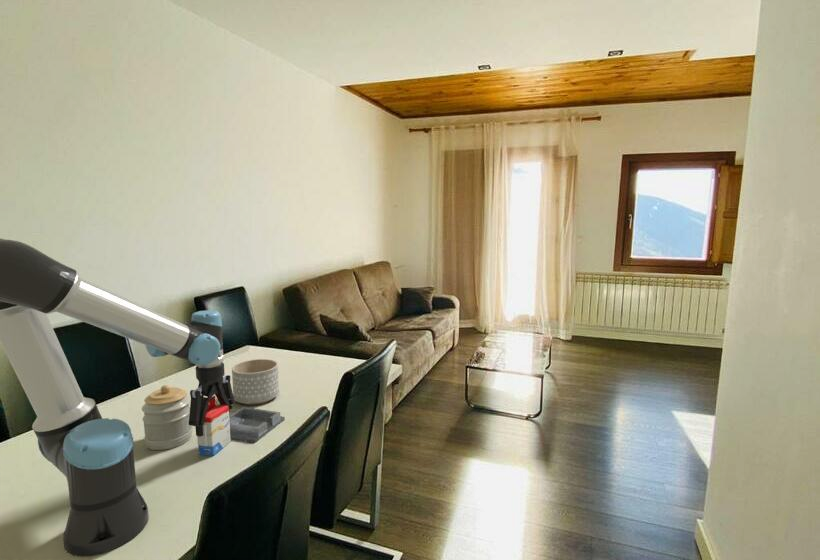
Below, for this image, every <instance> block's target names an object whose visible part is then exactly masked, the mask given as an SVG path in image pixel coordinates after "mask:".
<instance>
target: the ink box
mask: <svg viewBox="0 0 820 560" xmlns="http://www.w3.org/2000/svg"><path fill="white" fill-rule="evenodd" d="M199 421H200V420H199ZM204 423H205V424H206V427H207V442H208V445H207V446H200V445H198V444H197V445H198V446H197V447H198V454H199V455H204V456H210V457H211V456H212V457H214V456H215V455H216V454H218V453H219V452H220V451H221V450H223V449H224V448H225V447H227V446H228V445H229V444H230V443H231V440H232V439H230V422H229V406H226V405H220V404H216V396H215V395H213V396H212V399H211V401H209V405H208V409H207V413H206V417H205V421H204Z"/></svg>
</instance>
